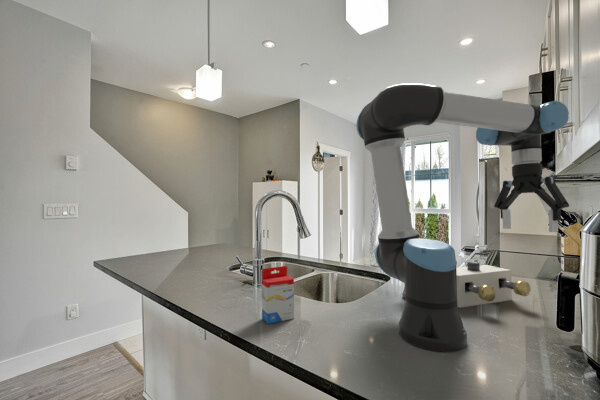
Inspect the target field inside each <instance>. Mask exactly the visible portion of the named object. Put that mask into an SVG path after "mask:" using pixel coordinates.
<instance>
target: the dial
mask: <svg viewBox="0 0 600 400" xmlns="http://www.w3.org/2000/svg"><path fill="white" fill-rule="evenodd" d="M480 265H481V264H480V262H477V261H467V262H466V267H467V270H471V271H480Z"/></svg>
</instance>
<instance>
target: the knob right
mask: <svg viewBox="0 0 600 400" xmlns="http://www.w3.org/2000/svg"><path fill="white" fill-rule="evenodd" d="M499 286H502V287H506V288H509V289H512V291H513V292H514V293H515V295H519V296H522V297H527V296H529V295H530V294H531V289H532V288H531V285H530V283H529V282H527V281H523V280H519V279H518V280H515V282H512V281H511V282H510V281H506V280H502V279H499Z"/></svg>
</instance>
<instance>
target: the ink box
mask: <svg viewBox="0 0 600 400" xmlns="http://www.w3.org/2000/svg"><path fill="white" fill-rule="evenodd" d="M274 271H277V272H274ZM261 272H262V275H261V276H262V277H261V278H262V279H261V318H262V320H264V322H266V324H268V325H270V324H275V323H279V322H283V321H284V322H285V321H288V320H293V319H295V285H294V284H295V282H294V281H295V279H294V278H293V277H292V276H290V275H288V266H287V265H282V266H276V267H275V266H274V267H267V268H266V267H265V268H263V269H262V271H261ZM272 272H274V273H272Z"/></svg>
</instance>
